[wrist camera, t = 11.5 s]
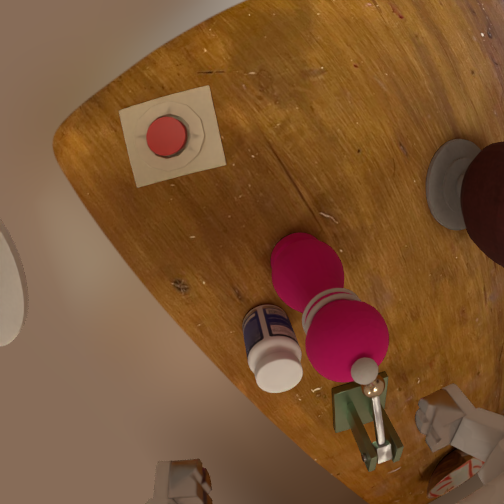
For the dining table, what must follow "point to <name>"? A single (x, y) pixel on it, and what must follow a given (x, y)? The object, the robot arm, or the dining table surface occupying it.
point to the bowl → (452, 473)
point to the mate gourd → (470, 192)
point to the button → (166, 136)
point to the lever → (378, 418)
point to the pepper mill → (329, 310)
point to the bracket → (363, 420)
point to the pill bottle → (272, 349)
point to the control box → (195, 149)
